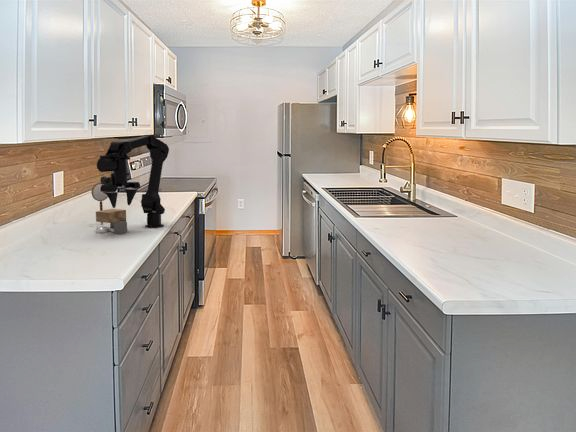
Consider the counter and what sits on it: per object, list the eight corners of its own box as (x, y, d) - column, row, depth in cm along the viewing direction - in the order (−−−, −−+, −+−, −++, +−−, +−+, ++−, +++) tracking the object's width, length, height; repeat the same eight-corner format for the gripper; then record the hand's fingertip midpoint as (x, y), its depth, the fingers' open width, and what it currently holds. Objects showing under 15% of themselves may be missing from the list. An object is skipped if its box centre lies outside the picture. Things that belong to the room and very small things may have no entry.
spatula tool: (107, 230, 245) (107, 219, 245) (127, 233, 238) (126, 221, 238) (100, 231, 242) (100, 220, 241) (120, 234, 235) (119, 223, 234)
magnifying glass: (109, 223, 263) (108, 182, 259) (111, 223, 261) (109, 182, 258) (92, 225, 257) (90, 183, 254) (93, 225, 256) (91, 183, 252)
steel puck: (102, 231, 243) (101, 226, 243) (110, 232, 241) (110, 226, 240) (93, 233, 238) (93, 227, 238) (102, 233, 236) (101, 228, 236)
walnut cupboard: (113, 226, 253) (112, 208, 252) (126, 228, 250) (125, 209, 249) (96, 230, 244) (95, 211, 243) (109, 231, 240) (108, 212, 239)
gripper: (121, 168, 246) (122, 202, 248) (89, 171, 229) (91, 207, 231) (140, 169, 241) (141, 204, 243) (109, 172, 224) (111, 209, 227)
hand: (121, 206), depth 236 cm, fingers open, 9 cm apart
